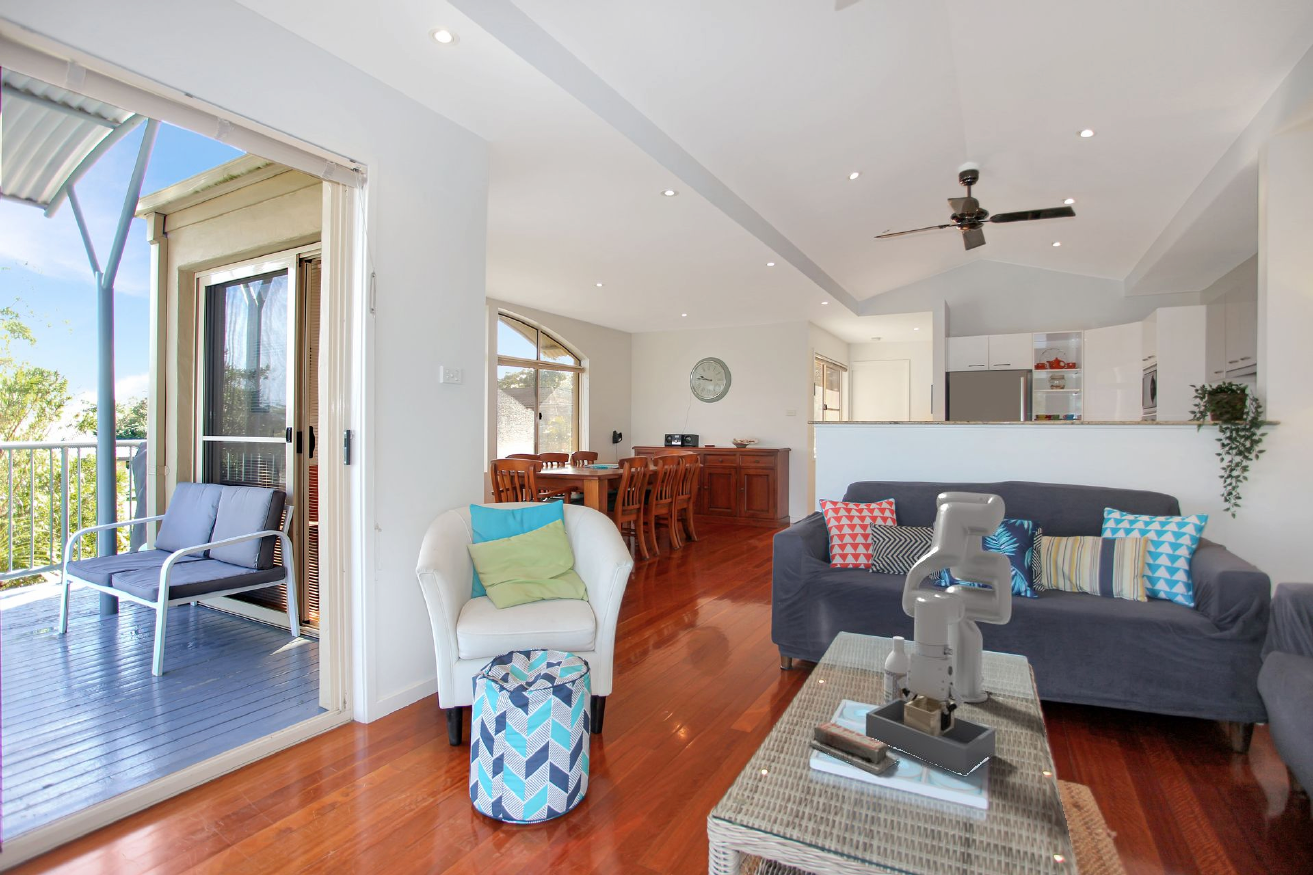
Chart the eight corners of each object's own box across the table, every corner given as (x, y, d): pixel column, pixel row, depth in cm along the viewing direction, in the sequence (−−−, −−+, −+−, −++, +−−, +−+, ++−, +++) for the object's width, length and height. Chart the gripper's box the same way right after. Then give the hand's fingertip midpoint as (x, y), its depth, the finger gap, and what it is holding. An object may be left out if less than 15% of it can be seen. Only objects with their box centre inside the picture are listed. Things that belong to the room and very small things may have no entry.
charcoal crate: (898, 720, 169) (898, 697, 169) (994, 754, 151) (995, 729, 151) (865, 737, 158) (866, 713, 159) (965, 777, 140) (965, 749, 140)
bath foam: (900, 719, 170) (901, 643, 170) (878, 709, 176) (879, 636, 176) (916, 713, 174) (917, 639, 174) (894, 704, 179) (895, 632, 180)
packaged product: (807, 726, 154) (831, 715, 161) (807, 747, 154) (830, 735, 160) (878, 754, 140) (900, 741, 147) (877, 777, 140) (899, 762, 147)
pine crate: (925, 717, 161) (926, 693, 161) (953, 727, 156) (954, 702, 156) (903, 729, 154) (904, 704, 154) (932, 740, 148) (933, 714, 149)
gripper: (974, 655, 151) (973, 731, 151) (904, 637, 164) (902, 707, 164) (960, 661, 146) (958, 740, 146) (889, 642, 159) (887, 715, 159)
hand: (929, 722), depth 155 cm, fingers closed on pine crate, 7 cm apart
